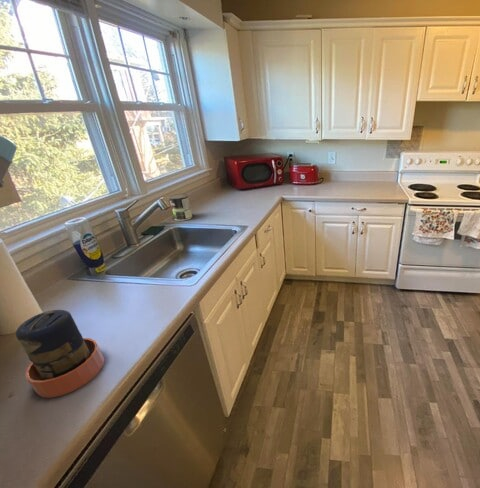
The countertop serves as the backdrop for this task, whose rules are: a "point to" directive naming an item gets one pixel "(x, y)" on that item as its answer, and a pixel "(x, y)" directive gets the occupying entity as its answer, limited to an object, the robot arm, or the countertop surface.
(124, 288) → the countertop surface
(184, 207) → the coffee can
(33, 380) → the ring
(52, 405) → the countertop surface
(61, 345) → the canister
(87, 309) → the countertop surface
